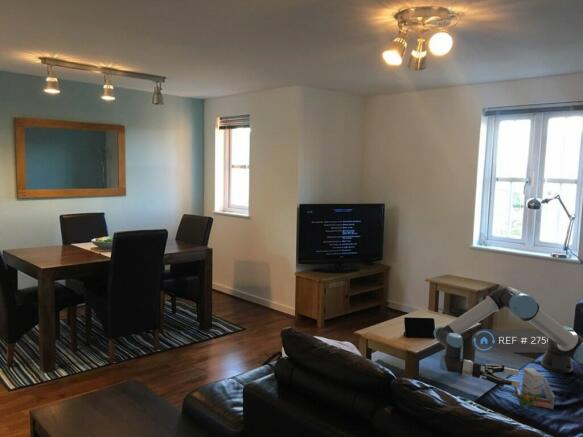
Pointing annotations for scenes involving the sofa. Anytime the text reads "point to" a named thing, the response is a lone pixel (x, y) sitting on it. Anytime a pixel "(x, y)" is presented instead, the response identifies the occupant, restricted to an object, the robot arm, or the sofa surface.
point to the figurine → (525, 399)
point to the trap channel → (542, 402)
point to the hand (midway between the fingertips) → (519, 378)
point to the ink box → (532, 382)
